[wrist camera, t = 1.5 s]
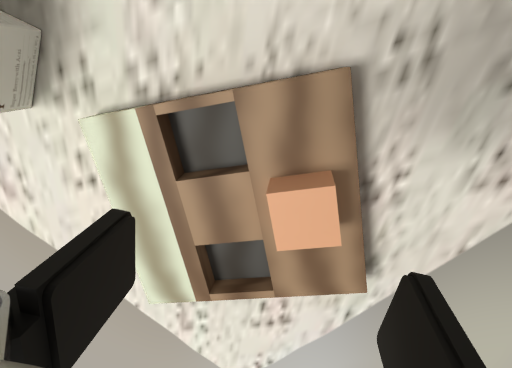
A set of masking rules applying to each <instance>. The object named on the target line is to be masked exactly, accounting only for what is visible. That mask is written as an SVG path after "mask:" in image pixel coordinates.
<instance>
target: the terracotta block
mask: <svg viewBox="0 0 512 368" xmlns="http://www.w3.org/2000/svg"><path fill="white" fill-rule="evenodd" d="M266 196H267V201H268V207H269V212H270V217H271V222H272V228H273V233H274V238H275V244H276V249H277V251H286V250H299V249H311V248H323V247H335V246H342V244H341V234H340V225H339V215H338V205H337V196H336V186H335V182H334V179H333V175H332V172H331V170H329V171H321V172H314V173H306V174H298V175H291V176H283V177H275V178H270V181H269V185H268V189H267V192H266Z"/></svg>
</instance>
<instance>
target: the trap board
mask: <svg viewBox="0 0 512 368" xmlns="http://www.w3.org/2000/svg"><path fill="white" fill-rule="evenodd" d="M78 122H79V124H80V127H81V129H82V132H83V134H84V137H85V140H86V142H87V145H88V147H89V150H90V152H91V155H92V158H93V160H94V163H95V165H96V168H97V171H98V173H99V176H100V178H101V181H102V183H103V186H104V189H105V191H106V194H107V196H108V199H109V201H110V204H111V207H112V209H119V210H124V211H129V212H130V213H131V215H132V217H135V268H136V271H137V274H138V276H139V279H140V281H141V284H142V286H143V289H144V292H145V294H146V297H147V299H148V302H149V304H158V303H177V302H196V301H215V300H235V299H254V298H273V297H292V296H311V295H330V294H349V293H367V283H366V270H365V256H364V243H363V229H362V216H361V202H360V189H359V175H358V162H357V148H356V135H355V121H354V108H353V94H352V81H351V67H342V68H337V69H332V70H327V71H322V72H316V73H311V74H306V75H301V76H296V77H290V78H285V79H280V80H275V81H270V82H264V83H259V84H254V85H249V86H244V87H238V88H233V89H228V90H223V91H218V92H212V93H207V94H202V95H197V96H192V97H186V98H181V99H176V100H171V101H166V102H160V103H155V104H150V105H145V106H139V107H134V108H129V109H124V110H119V111H113V112H108V113H103V114H98V115H93V116H90V117H86V118H82V119H78ZM329 170H331V172H332V175H333V179H334V182H335V186H336V196H337V205H338V215H339V225H340V234H341V244H342V246H335V247H323V248H311V249H299V250H286V251H277V249H276V244H275V238H274V233H273V228H272V222H271V217H270V212H269V207H268V201H267V196H266V192H267V189H268V185H269V181H270V178H275V177H283V176H291V175H298V174H306V173H314V172H321V171H329Z"/></svg>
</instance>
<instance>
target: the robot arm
mask: <svg viewBox="0 0 512 368" xmlns="http://www.w3.org/2000/svg"><path fill="white" fill-rule="evenodd" d="M134 281H135V217H132V215H131V213H130V212H129V211H124V210H119V209H111V210H110V211H108V212H107V213H106V214H105V215H103V216H102V217H101V218H99V219H98V220H97V221H96V222H94V223H93V224H92V225H90V226H89V227H88V228H87V229H85V230H84V231H83V232H81V233H80V234H79V235H78V236H76V237H75V238H74V239H72V240H71V241H70V242H69V243H67V244H66V245H65V246H63V247H62V248H61V249H60V250H58V251H57V252H56V253H54V254H53V255H52V256H51V257H49V258H48V259H47V260H46V261H44V262H43V263H42V264H40V265H39V266H38V267H36V268H35V269H34V270H32V271H31V272H30V273H29V274H28V275H26V276H25V277H23V278H22V279H21V280H20V281H18V282H17V283H16V284H15V287H14V288H13V289H11V290H10V291H9V292H8V293H6V292H5V291H3V290H0V368H71V367H72V366H73V365H74V364H75V362H76V361H77V360H78V358H79V357H80V355H81V354H82V353H83V352H84V350H85V349H86V348H87V346H88V345H89V344H90V342H91V341H92V340H93V338H94V337H95V336H96V334H97V333H98V332H99V330H100V329H101V327H102V326H103V325H104V323H105V322H106V321H107V320H108V318H109V317H110V316H111V314H112V313H113V312H114V310H115V309H116V308H117V306H118V305H119V304H120V302H121V301H122V300H123V298H124V297H125V296H126V294H127V293H128V292H129V290H130V289H131V288H132V286H133V284H134ZM377 344H378V348H379V352H380V356H381V359H382V363H383V367H384V368H486V366H485V365H484V363H483V361H482V360H481V358H480V357H479V355H478V353H477V352H476V350H475V348H474V347H473V345H472V343H471V342H470V340H469V338H468V337H467V335H466V334H465V332H464V330H463V328H462V327H461V325H460V323H459V322H458V321H457V318H456V317H455V315H454V313H453V312H452V310H451V309H450V307H449V306H448V304H447V302H446V300H445V299H444V297H443V295H442V294H441V292H440V290H439V289H438V287H437V285H436V284H435V282H434V280H433V279H432V278H431V276H428V275H423V274H419V273H414V272H411V273H409V274H408V276H407V275H404V276H403V277H402V279H401V281H400V283H399V286H398V288H397V290H396V292H395V295H394V297H393V299H392V302H391V304H390V306H389V309H388V311H387V313H386V315H385V318H384V320H383V322H382V325H381V327H380V329H379V331H378V335H377Z"/></svg>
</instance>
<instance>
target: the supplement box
mask: <svg viewBox="0 0 512 368" xmlns="http://www.w3.org/2000/svg"><path fill="white" fill-rule="evenodd" d="M40 40H41V30H40V29H38V28H36V27H34V26H32V25H30V24H28V23H26V22H23V21H21V20H19V19H17V18H15V17H13V16H11V15H9V14H7V13H5V12H2V11H0V113H2V112H9V111H15V110H21V109H28V108H31V106H32V98H33V91H34V84H35V77H36V70H37V62H38V55H39V47H40Z"/></svg>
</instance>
